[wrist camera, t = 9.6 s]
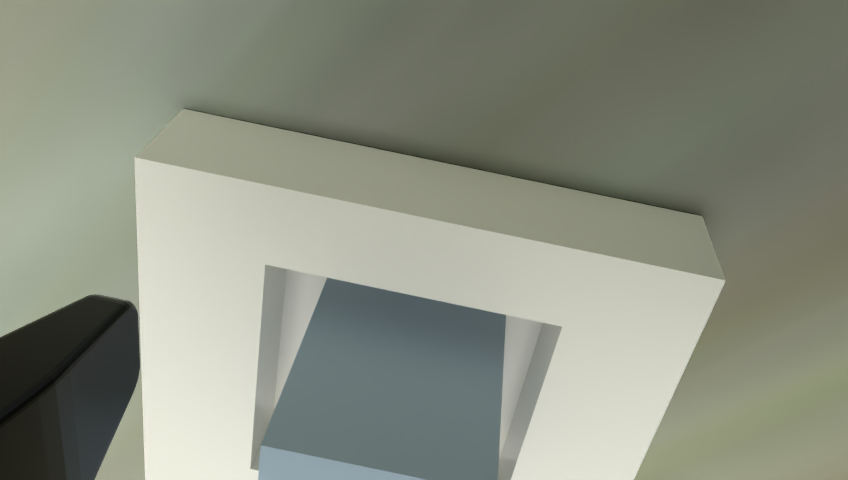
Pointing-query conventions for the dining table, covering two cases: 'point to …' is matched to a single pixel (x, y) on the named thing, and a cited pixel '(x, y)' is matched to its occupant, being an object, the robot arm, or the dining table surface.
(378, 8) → the dining table surface
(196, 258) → the well
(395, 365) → the block
